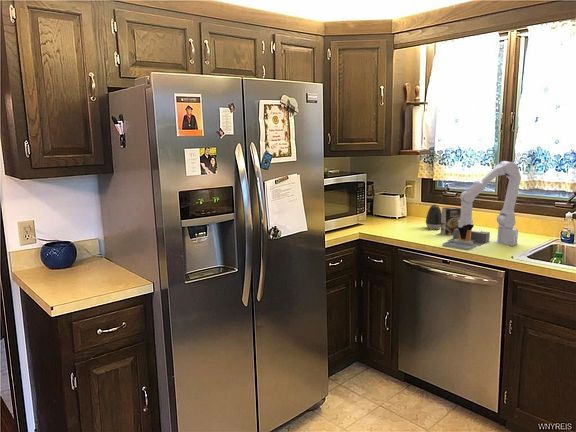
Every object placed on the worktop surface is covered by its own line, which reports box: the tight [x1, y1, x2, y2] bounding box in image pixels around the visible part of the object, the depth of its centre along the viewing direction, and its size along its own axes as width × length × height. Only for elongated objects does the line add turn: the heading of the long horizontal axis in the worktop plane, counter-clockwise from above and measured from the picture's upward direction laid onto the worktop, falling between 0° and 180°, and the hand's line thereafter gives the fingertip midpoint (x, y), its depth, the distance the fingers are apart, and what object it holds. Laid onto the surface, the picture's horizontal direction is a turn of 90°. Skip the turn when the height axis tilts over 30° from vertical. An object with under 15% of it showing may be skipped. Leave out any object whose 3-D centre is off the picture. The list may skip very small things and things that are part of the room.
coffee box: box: [440, 206, 461, 236], centre depth 270 cm, size 9×6×16 cm
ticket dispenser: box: [447, 228, 491, 247], centre depth 253 cm, size 18×13×6 cm
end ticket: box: [459, 230, 471, 241], centre depth 250 cm, size 6×2×7 cm, turn 47°
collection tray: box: [442, 239, 478, 251], centre depth 243 cm, size 14×10×2 cm
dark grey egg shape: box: [425, 204, 442, 230], centre depth 287 cm, size 10×10×15 cm
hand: (464, 238), depth 250 cm, fingers open, 4 cm apart
